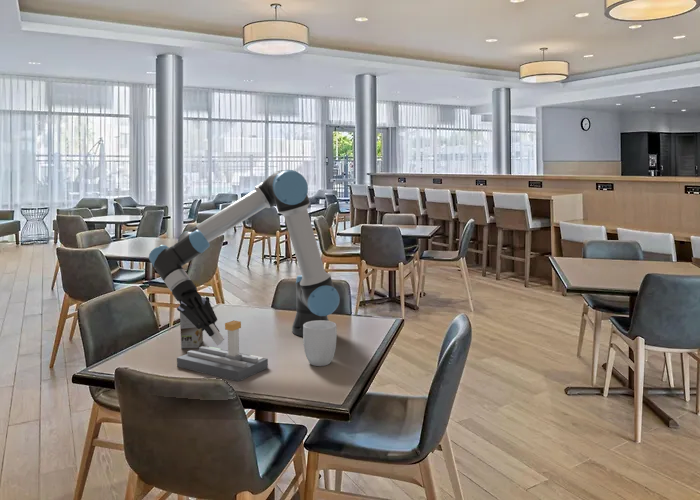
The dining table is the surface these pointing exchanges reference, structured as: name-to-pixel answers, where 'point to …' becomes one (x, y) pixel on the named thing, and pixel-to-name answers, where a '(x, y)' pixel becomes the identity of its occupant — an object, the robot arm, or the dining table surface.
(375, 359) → the dining table surface
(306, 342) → the mug
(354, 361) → the dining table surface
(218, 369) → the switch panel
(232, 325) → the lever
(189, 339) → the coffee box
